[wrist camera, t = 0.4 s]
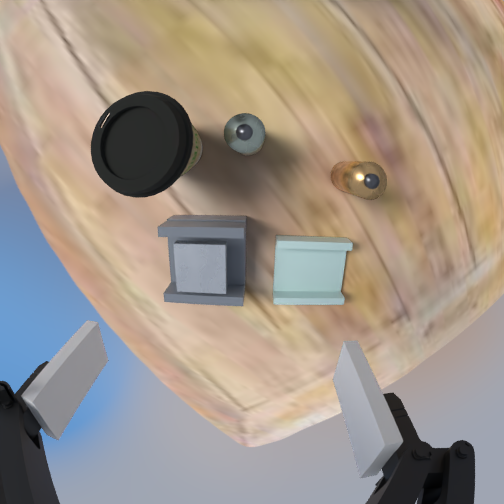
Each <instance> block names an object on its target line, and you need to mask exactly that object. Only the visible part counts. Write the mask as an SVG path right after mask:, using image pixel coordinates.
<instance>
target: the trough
mask: <svg viewBox="0 0 504 504" xmlns="http://www.w3.org/2000/svg"><path fill="white" fill-rule="evenodd" d="M352 246H353V243H352V242H351V241H350V240H349V239H348V238H343V237H318V236H290V235H276V244H275V264H274V282H273V303H274V304H282V305H343V304H344V299H345V298H344V296H343V295H342V293H341V286H342V280H343V273H344V266H345V259H346V251H347V250H349V251H352Z"/></svg>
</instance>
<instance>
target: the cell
mask: <svg viewBox="0 0 504 504" xmlns="http://www.w3.org/2000/svg"><path fill="white" fill-rule="evenodd" d="M331 180H332V183H333V185H334V186H335V187H336V188H338V189H339V190H342V191H345V192H347V193H350V194H353V195H356V196H358V197H361V198H364V199H367V200H373V199H376V198H378V197H380V196H381V195H382V194H383V192H384V191H385V188H386V185H387V178H386V174H385V172H384V170H383V169H382V168H381V167H380V166H379V165H378V164H376V163H374V162H339V163H337V164H336V165H335V166H334V167H333V169H332V171H331Z"/></svg>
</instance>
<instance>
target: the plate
mask: <svg viewBox="0 0 504 504" xmlns="http://www.w3.org/2000/svg"><path fill="white" fill-rule="evenodd" d="M173 245H174V260H175V273H176V285H177V291H178V292H196V293H217V294H226V292H227V241H191V240H177V241H176V242H175V243H174V244H173Z"/></svg>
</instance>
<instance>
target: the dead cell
mask: <svg viewBox="0 0 504 504" xmlns="http://www.w3.org/2000/svg"><path fill="white" fill-rule="evenodd" d="M224 137H225V140H226V142H227V144H228V145H229V146H230V147H231V148H232V149H233V150H235V151H237V152H238V153H240V154H242V155H247V156H249V155H254V154H256V153H257V152H259V151H260V150H261V148H262V146H263V143H264V138H265V127H264V125H263V123H262V121H261V120H260V119H259V118H258V117H256V116H254V115H252V114H247V113H242V114H238V115H236V116H234V117H232V118H231V119H230V120H229V121H228V122H227V124H226V126H225V129H224Z"/></svg>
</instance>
